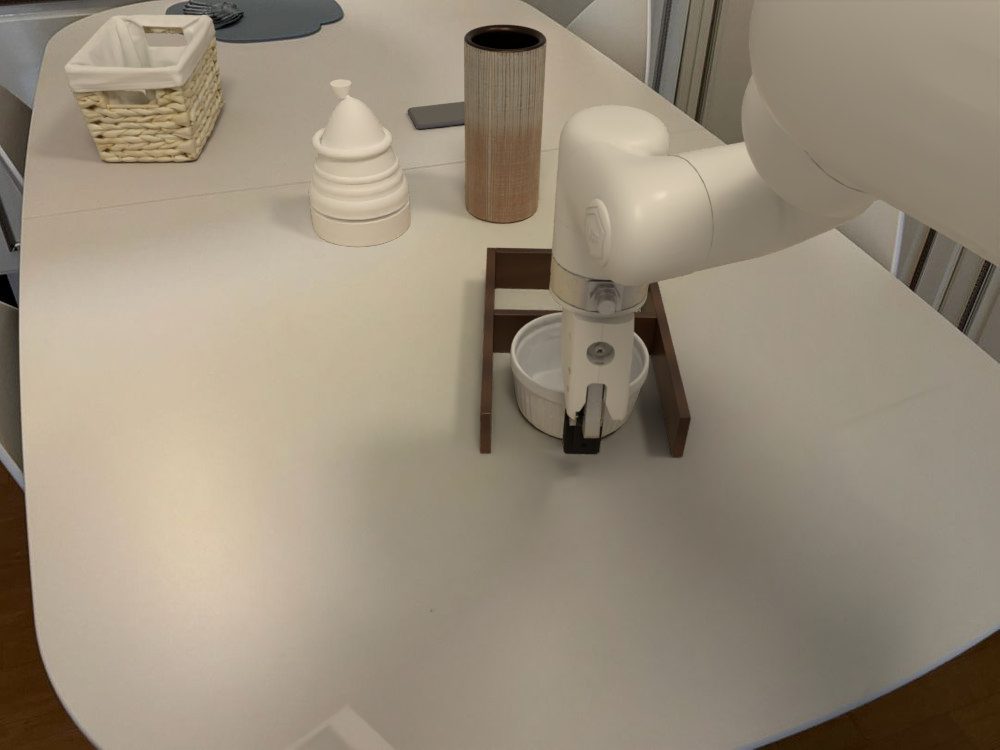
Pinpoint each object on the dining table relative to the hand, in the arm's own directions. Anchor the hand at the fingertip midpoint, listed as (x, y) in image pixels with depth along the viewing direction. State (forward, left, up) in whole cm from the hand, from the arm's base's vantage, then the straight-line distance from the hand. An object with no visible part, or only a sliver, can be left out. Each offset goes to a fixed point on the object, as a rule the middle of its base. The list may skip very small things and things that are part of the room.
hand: (580, 447), depth 76 cm
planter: (+26, -43, -3) cm, 51 cm away
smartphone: (+45, -69, -3) cm, 82 cm away
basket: (+83, -42, -3) cm, 94 cm away
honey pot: (+41, -31, -3) cm, 52 cm away
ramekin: (+3, -8, -3) cm, 10 cm away
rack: (+6, -15, -3) cm, 17 cm away
